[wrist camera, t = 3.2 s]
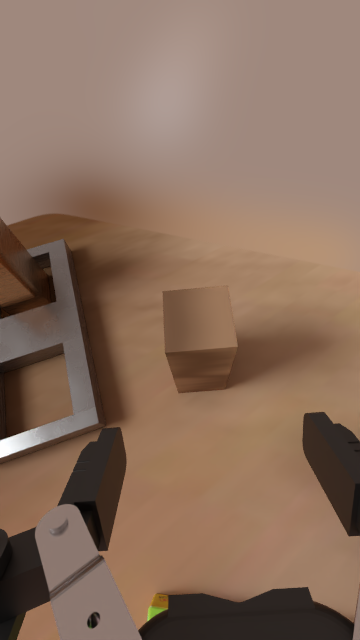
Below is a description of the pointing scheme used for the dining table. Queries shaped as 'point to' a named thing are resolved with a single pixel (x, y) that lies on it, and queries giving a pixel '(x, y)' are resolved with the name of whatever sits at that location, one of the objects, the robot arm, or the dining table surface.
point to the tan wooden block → (199, 337)
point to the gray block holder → (45, 338)
